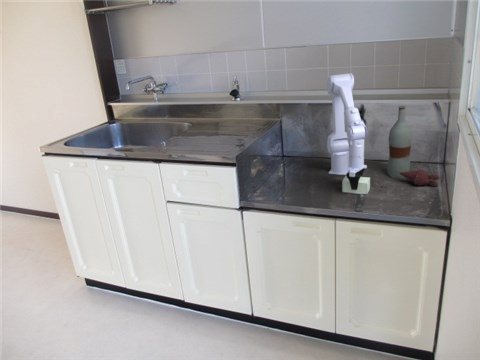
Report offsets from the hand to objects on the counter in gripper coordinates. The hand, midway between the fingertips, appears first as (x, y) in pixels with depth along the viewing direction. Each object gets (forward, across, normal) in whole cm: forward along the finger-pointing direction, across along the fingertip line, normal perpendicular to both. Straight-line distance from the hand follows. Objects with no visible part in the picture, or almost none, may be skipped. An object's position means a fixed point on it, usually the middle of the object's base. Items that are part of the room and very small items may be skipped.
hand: (356, 186), depth 162 cm
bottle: (+2, +20, -14) cm, 24 cm away
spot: (+2, 0, 0) cm, 2 cm away
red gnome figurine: (+2, +12, -22) cm, 25 cm away
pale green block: (+2, 0, 0) cm, 2 cm away
